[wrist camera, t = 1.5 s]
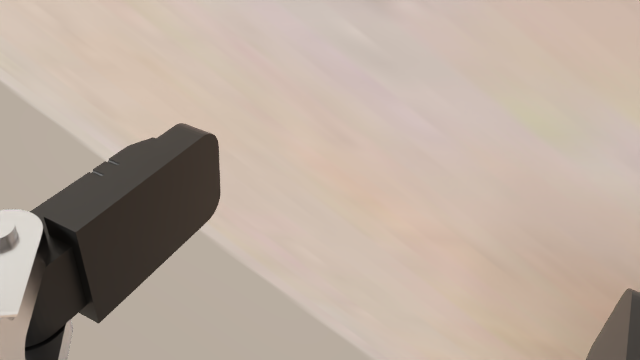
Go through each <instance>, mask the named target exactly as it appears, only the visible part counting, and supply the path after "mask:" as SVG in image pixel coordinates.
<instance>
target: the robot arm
mask: <svg viewBox="0 0 640 360" xmlns="http://www.w3.org/2000/svg"><path fill="white" fill-rule="evenodd" d="M219 199H220V171H219V146H218V140H217V138H216V136H215V135H213V134H211V133H208V132H205V131H203V130H200V129H197V128H195V127H192V126H189V125H187V124H183V123H181V124H177V125H175V126H174V127H172V128H171V129H169V130H168V131H167V132H165V133H164V134H162V135H161V136H159V137H158V138H150V139H147V140H144V141H141V142H138V143H135V144H132V145H129V146H127V147H126V148H124V149H123V150H121V151H120V152H118V153H117V154H115V155H114V156H112V157H111V158H109V161H108V162H104V163H102V164H101V165H99V166H98V167H96V168H95V169H93V172H92V173H90V172H89V173H87V174H86V175H84V176H83V177H81V178H80V179H78V180H77V181H75V182H74V183H72V184H71V185H69V186H68V187H66V188H65V189H63V190H62V191H60V192H59V193H57V194H56V195H54V196H53V197H51V198H50V199H48V200H47V201H45V202H44V203H42V204H41V205H40V206H38V207H36V208H35V209H33V210H32V211H30V212H28V211H24V210H18V209H6V210H0V360H67V357H68V352H69V348H70V343H71V338H72V332H73V327H72V322H71V319H72V317H74V316H75V315H76V314H77V313H78V312H79V313H81V314H82V315H84V316H86V317H88V318H90V319H92V320H93V321H95V322H97V323H100V322H101V321H102V320H103V319H104V318H105V317H106V316H107V315H108V314H109V313H110V312H111V311H113V310H114V308H116V307H117V306H118V305H119V304H120V303H121V302H122V301H123V300H124V299H125V298H126V297H127V296H129V295H130V294H131V293H132V292H133V291H134V290H135V289H136V288H137V287H138V286H139V285H140V284H141V283H142V282H143V281H144V280H146V279H147V278H148V276H150V275H151V274H152V273H153V272H154V271H155V270H156V269H157V268H158V267H159V266H160V265H161V264H162V263H164V262H165V261H166V260H167V259H168V258H169V257H170V256H171V255H172V254H173V253H174V252H175V251H176V250H177V249H178V248H179V247H181V246H182V244H184V243H185V242H186V241H187V240H188V239H189V238H190V237H191V236H192V235H193V234H194V233H195V232H197V231H198V230H199V229H200V228H201V227H202V226H203V225H204V224H205V223H206V222H207V221H208V220H209V219H210V218H211V217H212V215H213V214H214V212H215V210H216V208H217V206H218V203H219ZM586 360H640V292H637V291H635V290H632V289H627V290H626V291H625V292H624V294H623V295H622V297H621V298H620V300H619V302H618V303H617V305H616V307H615V308H614V310H613V312H612V313H611V315H610V317H609V318H608V320H607V322H606V323H605V325H604V327H603V328H602V330H601V332H600V333H599V335H598V337H597V338H596V340H595V342H594V343H593V345H592V347H591V349H590V351H589V354H588V356H587V358H586Z"/></svg>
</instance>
